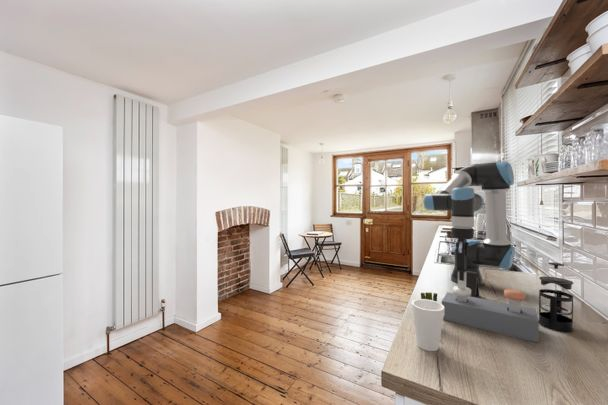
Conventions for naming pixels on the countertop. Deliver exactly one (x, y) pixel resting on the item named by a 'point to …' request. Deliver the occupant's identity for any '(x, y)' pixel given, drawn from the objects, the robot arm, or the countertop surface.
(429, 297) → the fennel bulb
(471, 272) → the phone stand
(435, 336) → the foam cup
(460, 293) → the white rounded knob
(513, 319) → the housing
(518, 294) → the orange ball knob
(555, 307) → the french press
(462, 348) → the countertop surface
